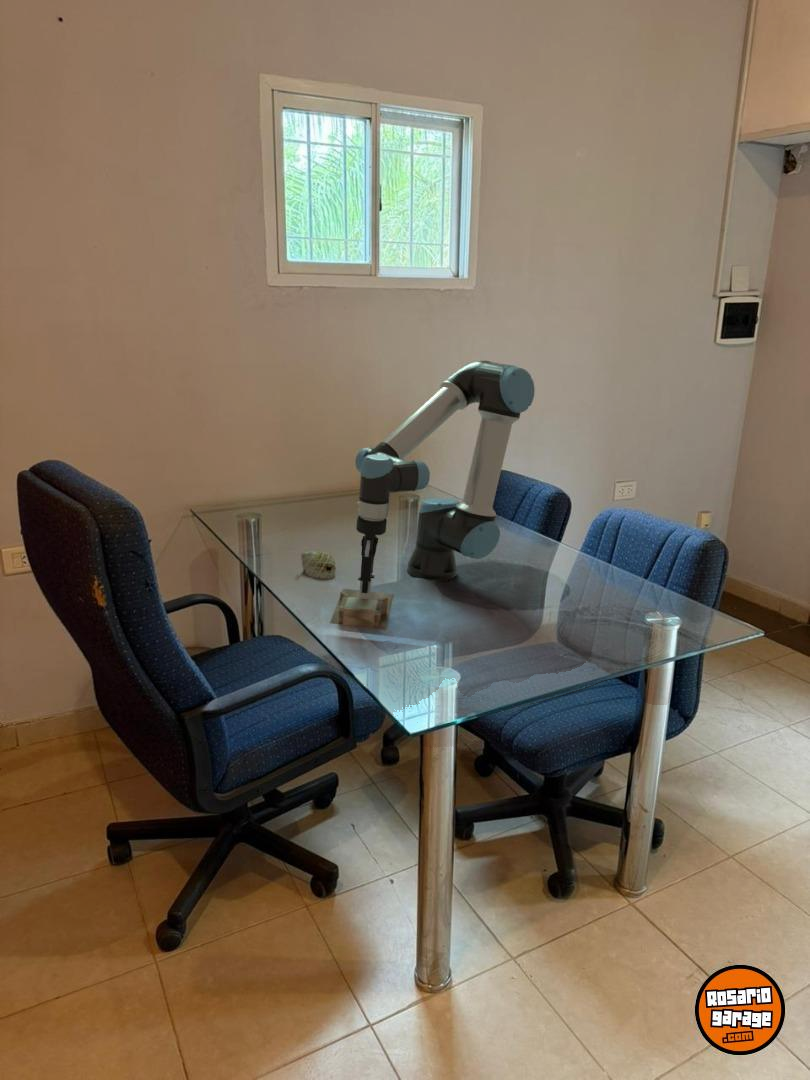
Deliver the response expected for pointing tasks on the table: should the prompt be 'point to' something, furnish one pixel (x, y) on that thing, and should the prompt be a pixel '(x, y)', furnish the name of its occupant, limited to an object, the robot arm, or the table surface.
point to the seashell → (318, 564)
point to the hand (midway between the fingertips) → (363, 602)
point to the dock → (362, 609)
